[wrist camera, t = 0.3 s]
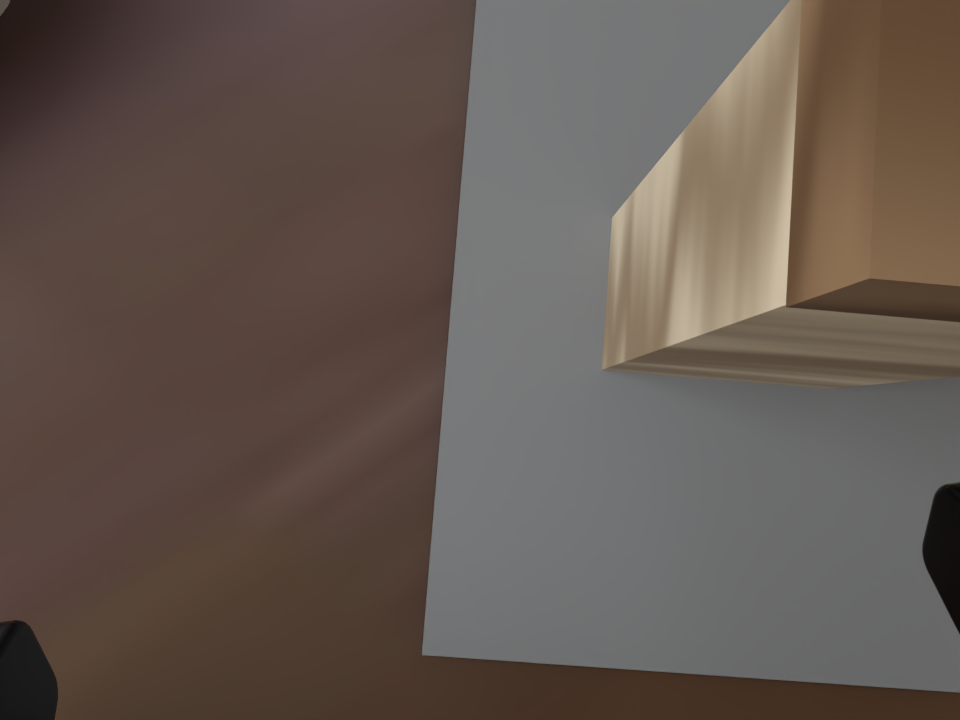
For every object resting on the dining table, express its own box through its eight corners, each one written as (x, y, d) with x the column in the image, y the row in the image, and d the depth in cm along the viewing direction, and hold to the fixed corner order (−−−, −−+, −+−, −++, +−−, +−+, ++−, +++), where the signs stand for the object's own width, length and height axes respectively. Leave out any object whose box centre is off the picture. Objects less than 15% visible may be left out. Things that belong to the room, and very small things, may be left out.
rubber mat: (960, 688, 22) (969, 693, 22) (422, 650, 22) (421, 655, 21) (992, -249, 24) (1001, -261, 24) (501, -306, 24) (503, -318, 23)
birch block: (831, 391, 22) (1477, 332, 8) (599, 371, 22) (870, 278, 8) (838, 236, 23) (1471, -67, 9) (610, 215, 22) (887, -130, 9)
